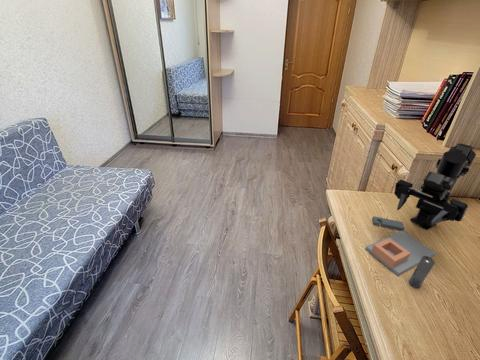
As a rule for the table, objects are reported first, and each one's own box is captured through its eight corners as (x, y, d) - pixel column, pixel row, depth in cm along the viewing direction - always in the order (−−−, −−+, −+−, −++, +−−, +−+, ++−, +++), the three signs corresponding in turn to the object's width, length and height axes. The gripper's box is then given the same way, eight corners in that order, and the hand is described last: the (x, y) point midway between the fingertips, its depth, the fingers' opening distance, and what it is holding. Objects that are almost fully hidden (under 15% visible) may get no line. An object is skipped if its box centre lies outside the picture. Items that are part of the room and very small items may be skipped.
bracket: (403, 232, 96) (405, 228, 95) (372, 226, 99) (374, 222, 98) (400, 225, 99) (402, 221, 98) (371, 219, 102) (373, 215, 101)
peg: (412, 278, 78) (426, 254, 73) (422, 286, 76) (437, 262, 71) (406, 281, 77) (419, 258, 72) (416, 289, 75) (430, 266, 69)
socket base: (401, 232, 95) (405, 223, 93) (434, 255, 86) (440, 246, 84) (364, 249, 87) (368, 240, 85) (397, 276, 78) (402, 266, 76)
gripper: (411, 156, 84) (384, 184, 79) (484, 178, 71) (457, 214, 66) (407, 180, 91) (381, 208, 86) (472, 204, 78) (447, 239, 73)
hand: (413, 216), depth 77 cm, fingers open, 9 cm apart
